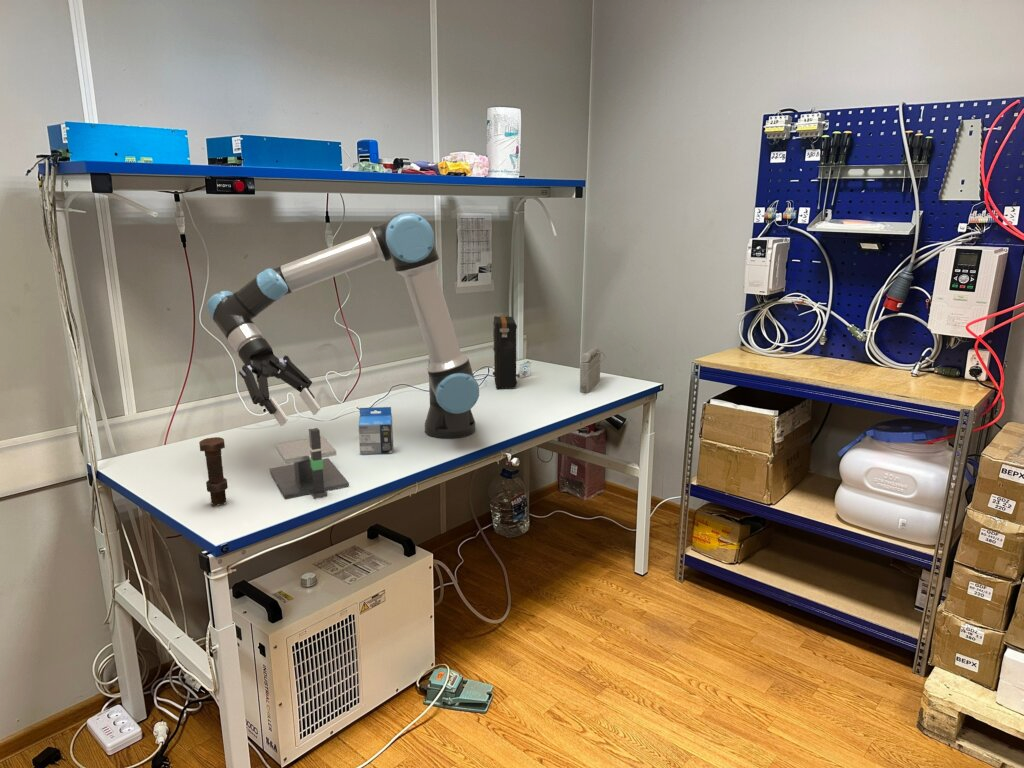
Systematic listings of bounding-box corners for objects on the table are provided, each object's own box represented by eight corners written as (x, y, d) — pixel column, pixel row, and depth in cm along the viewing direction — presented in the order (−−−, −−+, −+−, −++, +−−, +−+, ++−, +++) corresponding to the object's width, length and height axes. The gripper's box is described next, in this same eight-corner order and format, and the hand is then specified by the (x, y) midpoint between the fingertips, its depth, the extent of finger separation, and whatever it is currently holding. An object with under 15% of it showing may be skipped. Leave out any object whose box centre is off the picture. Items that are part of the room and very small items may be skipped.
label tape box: (359, 455, 187) (356, 411, 184) (361, 450, 191) (358, 407, 188) (392, 454, 188) (390, 410, 184) (393, 449, 192) (391, 406, 188)
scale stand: (328, 461, 182) (324, 403, 178) (352, 490, 163) (348, 426, 159) (269, 472, 175) (263, 411, 171) (287, 504, 156) (281, 436, 152)
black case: (492, 379, 267) (491, 315, 260) (514, 379, 267) (514, 314, 261) (493, 390, 252) (493, 322, 245) (517, 389, 252) (517, 321, 246)
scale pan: (325, 461, 178) (323, 436, 177) (342, 482, 165) (340, 455, 163) (277, 469, 173) (275, 444, 171) (291, 492, 159) (288, 464, 158)
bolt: (206, 500, 158) (198, 438, 155) (230, 496, 160) (223, 435, 157) (207, 510, 153) (199, 446, 149) (231, 506, 155) (224, 443, 152)
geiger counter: (590, 343, 263) (573, 357, 240) (606, 344, 261) (591, 358, 238) (589, 379, 267) (573, 395, 244) (606, 380, 264) (590, 397, 242)
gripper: (280, 347, 182) (327, 414, 178) (206, 364, 164) (257, 438, 160) (292, 329, 178) (341, 397, 174) (217, 344, 160) (270, 420, 156)
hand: (301, 416), depth 167 cm, fingers open, 9 cm apart
